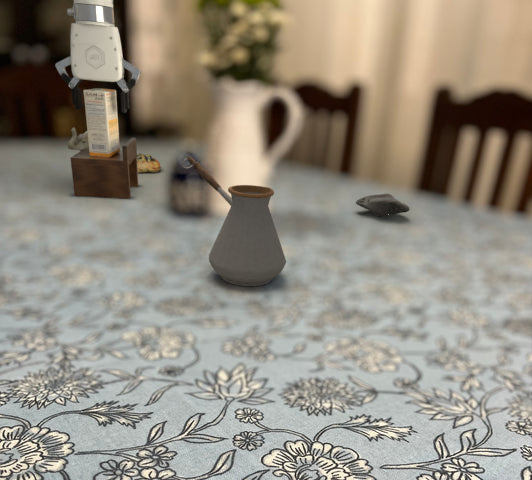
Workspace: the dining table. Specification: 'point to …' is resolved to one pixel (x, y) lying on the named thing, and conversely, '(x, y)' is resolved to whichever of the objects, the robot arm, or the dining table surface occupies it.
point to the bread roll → (147, 163)
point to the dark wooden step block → (105, 173)
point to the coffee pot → (245, 235)
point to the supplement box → (102, 122)
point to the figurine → (78, 141)
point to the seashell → (382, 205)
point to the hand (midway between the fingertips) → (101, 110)
